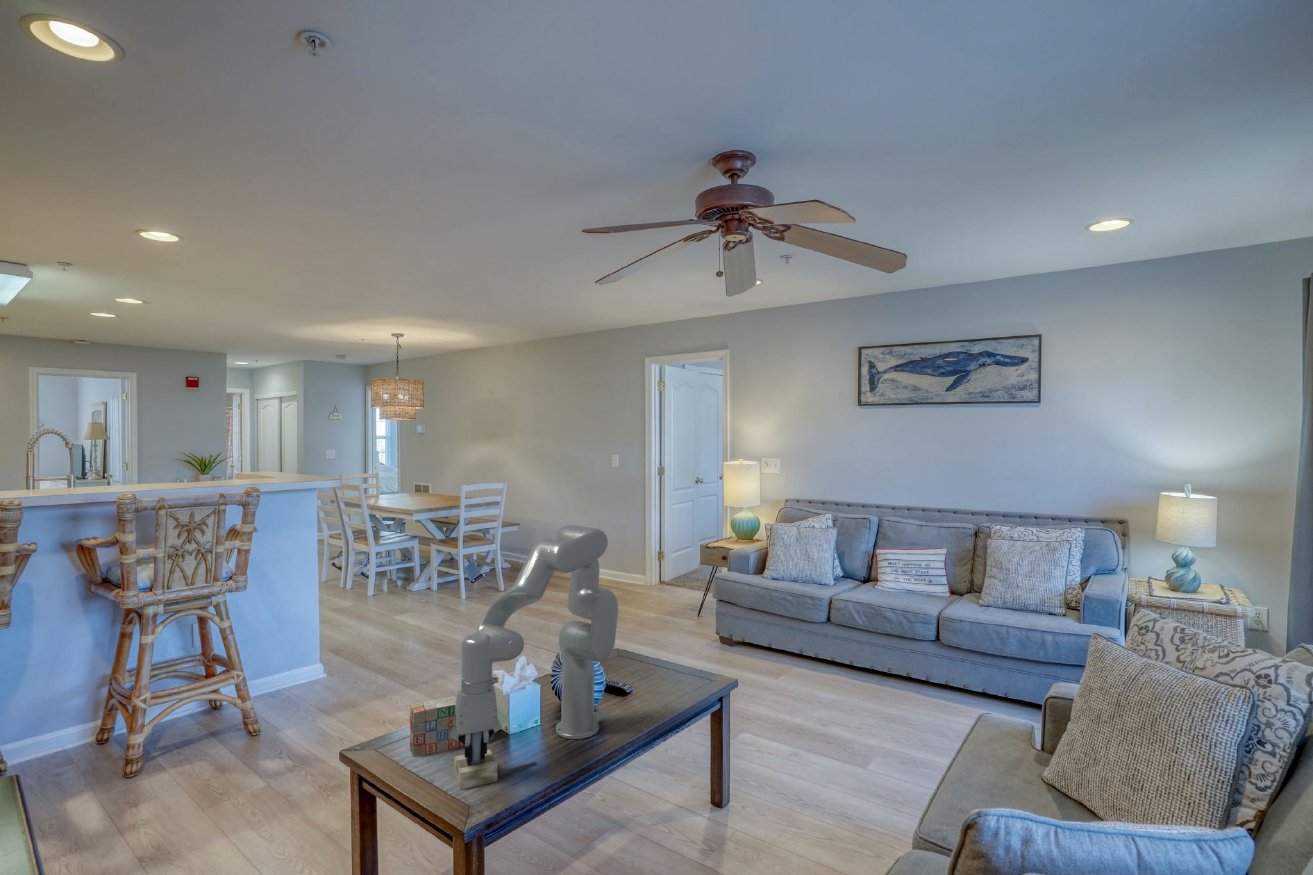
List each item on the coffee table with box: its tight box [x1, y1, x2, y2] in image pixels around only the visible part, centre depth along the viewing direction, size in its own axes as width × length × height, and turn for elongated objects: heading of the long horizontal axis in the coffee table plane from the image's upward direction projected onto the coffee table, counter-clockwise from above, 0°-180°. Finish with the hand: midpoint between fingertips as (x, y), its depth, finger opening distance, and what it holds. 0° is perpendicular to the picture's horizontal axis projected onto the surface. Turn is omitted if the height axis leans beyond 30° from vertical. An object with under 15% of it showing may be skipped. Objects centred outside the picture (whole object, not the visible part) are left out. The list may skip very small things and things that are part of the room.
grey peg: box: [470, 732, 481, 766], centre depth 160 cm, size 3×3×12 cm
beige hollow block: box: [453, 749, 498, 791], centre depth 160 cm, size 9×9×4 cm
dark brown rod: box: [498, 760, 537, 777], centre depth 164 cm, size 10×1×1 cm, turn 127°
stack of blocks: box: [409, 695, 494, 758], centre depth 177 cm, size 21×6×12 cm, turn 118°
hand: (475, 757), depth 160 cm, fingers closed on grey peg, 2 cm apart
